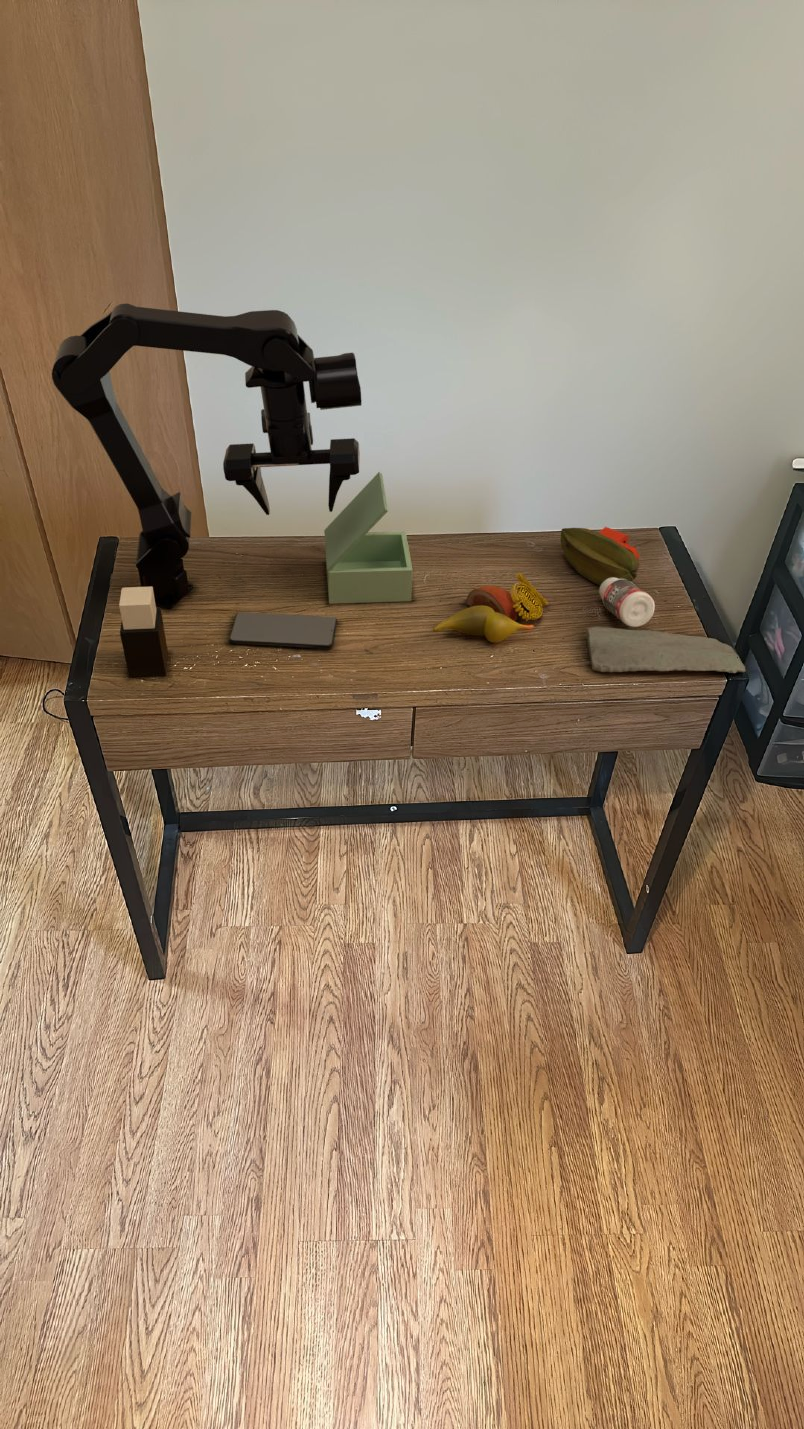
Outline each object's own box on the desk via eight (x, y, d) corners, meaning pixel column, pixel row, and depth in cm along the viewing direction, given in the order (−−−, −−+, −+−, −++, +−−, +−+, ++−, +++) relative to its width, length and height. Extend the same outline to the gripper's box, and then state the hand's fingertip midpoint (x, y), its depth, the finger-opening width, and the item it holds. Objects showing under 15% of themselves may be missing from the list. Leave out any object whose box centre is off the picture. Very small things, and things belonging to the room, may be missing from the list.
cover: (382, 473, 145) (379, 471, 145) (388, 511, 137) (385, 508, 137) (327, 532, 151) (324, 530, 151) (330, 571, 143) (326, 569, 143)
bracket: (574, 527, 158) (588, 515, 161) (570, 547, 161) (584, 534, 164) (638, 552, 154) (651, 539, 157) (633, 572, 156) (646, 559, 159)
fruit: (597, 594, 160) (572, 603, 156) (575, 525, 159) (549, 532, 155) (652, 577, 151) (626, 585, 147) (629, 503, 150) (602, 510, 146)
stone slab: (580, 637, 145) (591, 673, 137) (584, 621, 143) (595, 656, 135) (727, 645, 146) (746, 681, 138) (731, 629, 144) (752, 665, 136)
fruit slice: (489, 583, 151) (472, 610, 151) (473, 568, 145) (455, 596, 145) (531, 607, 147) (513, 635, 147) (517, 593, 141) (498, 622, 141)
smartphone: (236, 611, 144) (337, 616, 143) (237, 616, 144) (337, 621, 144) (228, 640, 139) (332, 645, 138) (228, 645, 139) (332, 650, 139)
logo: (548, 602, 149) (537, 628, 143) (544, 605, 149) (533, 631, 143) (519, 571, 147) (507, 596, 141) (516, 574, 148) (504, 599, 142)
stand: (129, 677, 133) (119, 632, 128) (132, 654, 137) (123, 609, 131) (166, 676, 134) (158, 630, 128) (168, 653, 137) (160, 608, 132)
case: (404, 562, 156) (405, 531, 152) (411, 601, 149) (412, 570, 145) (326, 564, 155) (325, 533, 151) (329, 603, 147) (328, 572, 143)
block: (123, 629, 128) (118, 605, 126) (126, 611, 131) (121, 587, 128) (154, 628, 129) (150, 604, 126) (156, 610, 132) (152, 586, 129)
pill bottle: (616, 606, 140) (589, 585, 149) (630, 634, 143) (603, 612, 151) (647, 585, 140) (618, 566, 148) (661, 614, 142) (632, 593, 151)
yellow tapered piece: (523, 622, 146) (535, 645, 141) (426, 628, 144) (435, 651, 139) (526, 597, 144) (539, 619, 139) (428, 602, 141) (437, 625, 136)
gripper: (355, 381, 136) (364, 480, 147) (224, 388, 136) (241, 486, 147) (354, 419, 128) (363, 520, 139) (214, 426, 128) (233, 526, 139)
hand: (299, 511), depth 141 cm, fingers open, 9 cm apart
